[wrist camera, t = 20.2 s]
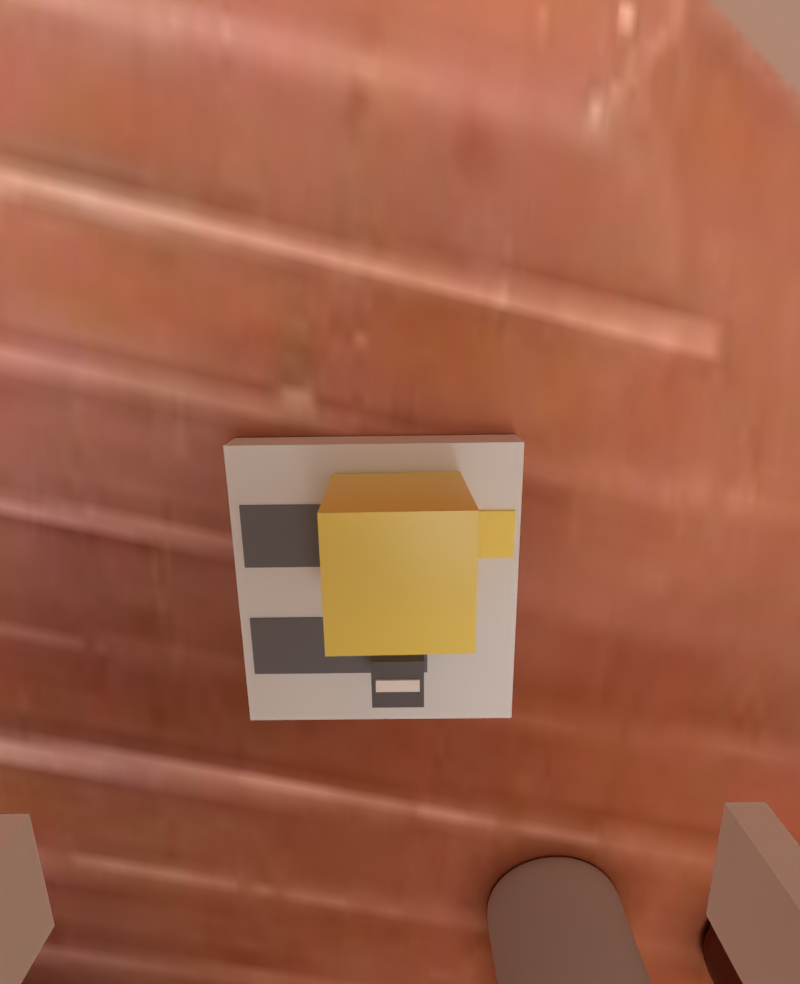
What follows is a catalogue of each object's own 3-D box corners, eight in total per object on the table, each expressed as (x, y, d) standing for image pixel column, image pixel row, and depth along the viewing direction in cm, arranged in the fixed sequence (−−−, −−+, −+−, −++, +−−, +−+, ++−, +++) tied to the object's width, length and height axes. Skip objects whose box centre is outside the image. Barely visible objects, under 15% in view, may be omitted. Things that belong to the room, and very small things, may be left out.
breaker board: (259, 697, 33) (249, 722, 31) (235, 437, 29) (221, 446, 27) (504, 694, 33) (511, 720, 31) (516, 434, 29) (524, 442, 27)
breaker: (375, 668, 30) (372, 708, 27) (374, 626, 29) (370, 663, 26) (421, 667, 30) (424, 708, 27) (421, 626, 29) (424, 662, 26)
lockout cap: (338, 590, 29) (325, 656, 23) (332, 473, 27) (317, 513, 21) (458, 588, 29) (475, 653, 23) (460, 471, 27) (479, 510, 21)
